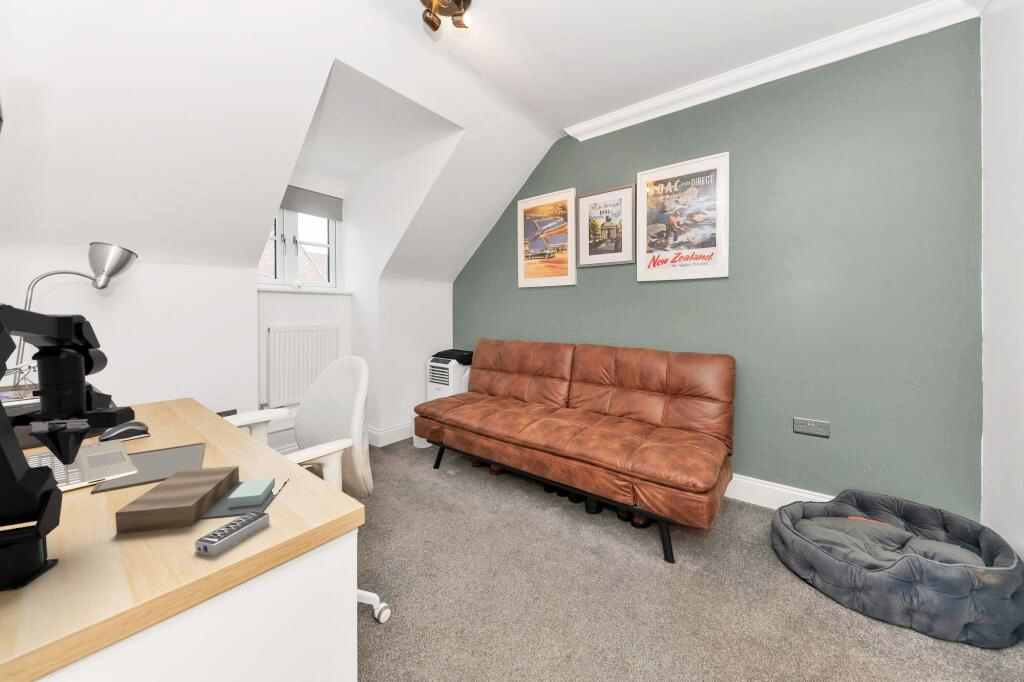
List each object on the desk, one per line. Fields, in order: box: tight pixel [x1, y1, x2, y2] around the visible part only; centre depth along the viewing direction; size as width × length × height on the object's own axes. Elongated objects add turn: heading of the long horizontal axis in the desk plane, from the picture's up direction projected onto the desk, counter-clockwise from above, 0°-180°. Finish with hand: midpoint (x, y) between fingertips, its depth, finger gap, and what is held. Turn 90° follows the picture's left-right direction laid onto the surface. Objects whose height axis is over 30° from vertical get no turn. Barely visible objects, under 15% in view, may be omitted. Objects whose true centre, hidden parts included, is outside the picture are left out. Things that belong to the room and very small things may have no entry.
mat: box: [199, 480, 276, 520], centre depth 87 cm, size 17×11×1 cm, turn 13°
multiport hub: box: [194, 511, 270, 557], centre depth 71 cm, size 4×11×2 cm, turn 164°
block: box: [228, 477, 276, 508], centre depth 86 cm, size 9×6×2 cm, turn 15°
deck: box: [114, 465, 240, 535], centre depth 83 cm, size 20×12×4 cm, turn 13°
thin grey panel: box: [90, 441, 206, 495], centre depth 105 cm, size 19×1×28 cm
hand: (68, 464), depth 74 cm, fingers closed
